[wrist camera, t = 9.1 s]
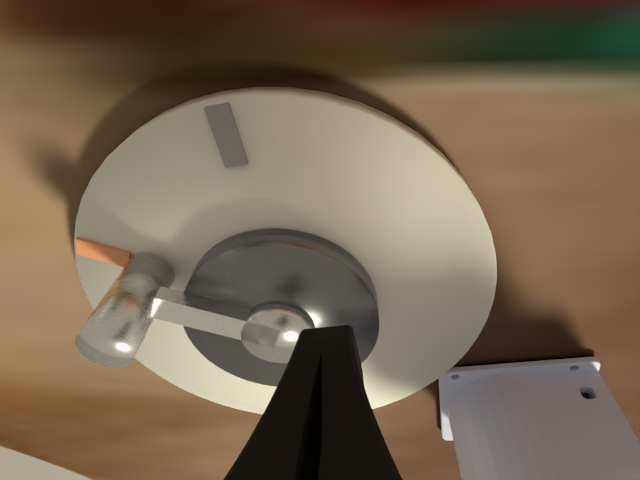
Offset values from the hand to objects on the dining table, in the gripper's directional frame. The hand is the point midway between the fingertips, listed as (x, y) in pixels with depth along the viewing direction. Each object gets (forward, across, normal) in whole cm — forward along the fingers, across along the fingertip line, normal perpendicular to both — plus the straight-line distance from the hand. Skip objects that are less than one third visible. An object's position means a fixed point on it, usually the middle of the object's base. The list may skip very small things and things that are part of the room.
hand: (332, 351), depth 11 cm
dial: (+8, +5, +5) cm, 11 cm away
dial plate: (+10, +4, +6) cm, 12 cm away
